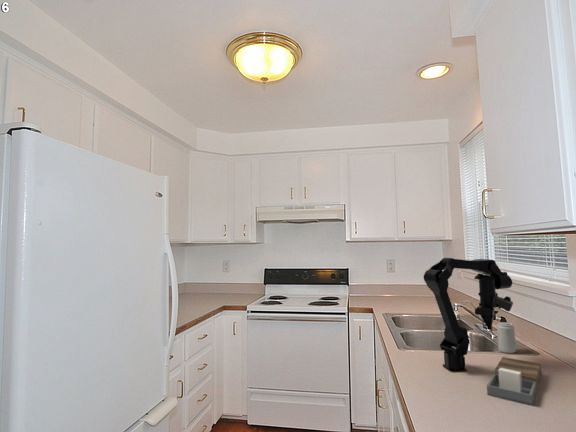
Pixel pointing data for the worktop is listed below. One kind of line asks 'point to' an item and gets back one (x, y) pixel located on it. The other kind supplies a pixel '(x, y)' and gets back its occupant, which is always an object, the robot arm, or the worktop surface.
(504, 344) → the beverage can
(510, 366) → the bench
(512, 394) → the box
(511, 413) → the worktop surface
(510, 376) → the tile
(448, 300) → the robot arm
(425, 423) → the worktop surface
